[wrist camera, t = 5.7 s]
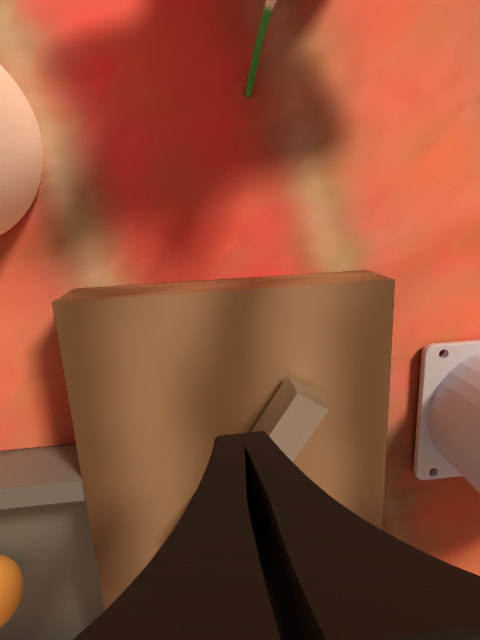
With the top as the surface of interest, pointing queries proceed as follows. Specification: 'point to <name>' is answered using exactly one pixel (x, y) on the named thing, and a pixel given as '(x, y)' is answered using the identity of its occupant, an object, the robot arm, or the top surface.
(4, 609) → the ball
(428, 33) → the top surface
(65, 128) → the top surface
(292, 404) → the lever
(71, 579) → the tray
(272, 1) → the lily
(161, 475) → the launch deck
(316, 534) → the robot arm
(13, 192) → the cup
